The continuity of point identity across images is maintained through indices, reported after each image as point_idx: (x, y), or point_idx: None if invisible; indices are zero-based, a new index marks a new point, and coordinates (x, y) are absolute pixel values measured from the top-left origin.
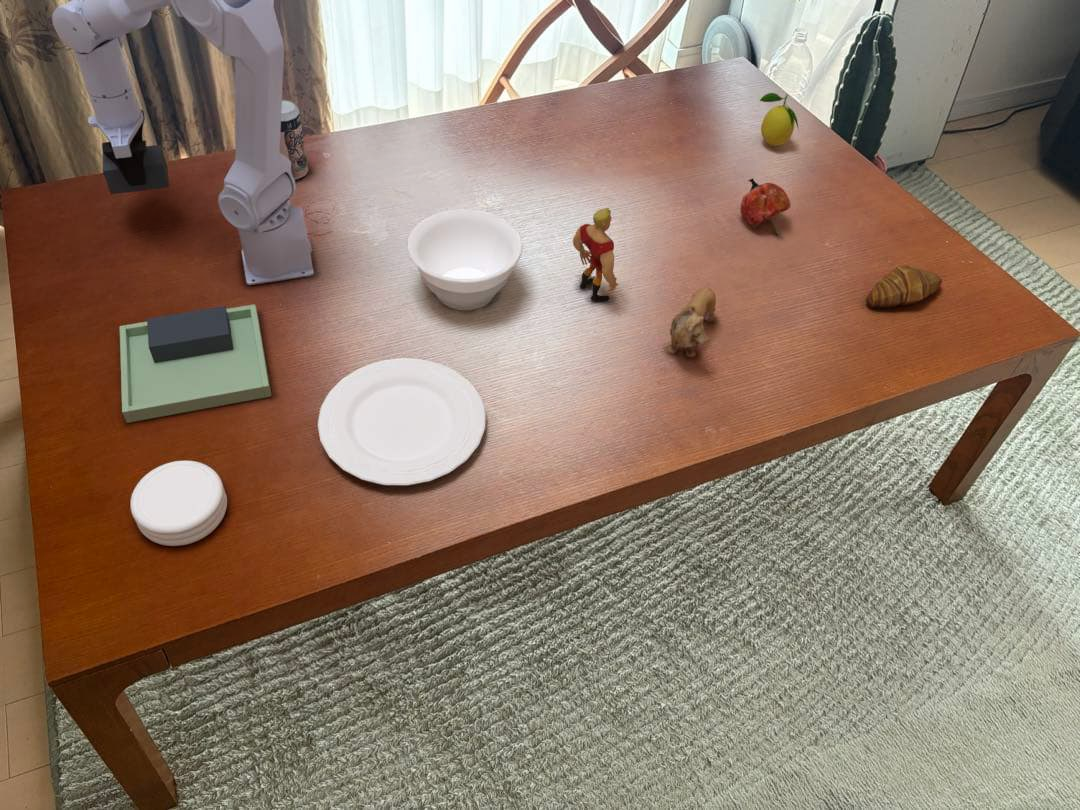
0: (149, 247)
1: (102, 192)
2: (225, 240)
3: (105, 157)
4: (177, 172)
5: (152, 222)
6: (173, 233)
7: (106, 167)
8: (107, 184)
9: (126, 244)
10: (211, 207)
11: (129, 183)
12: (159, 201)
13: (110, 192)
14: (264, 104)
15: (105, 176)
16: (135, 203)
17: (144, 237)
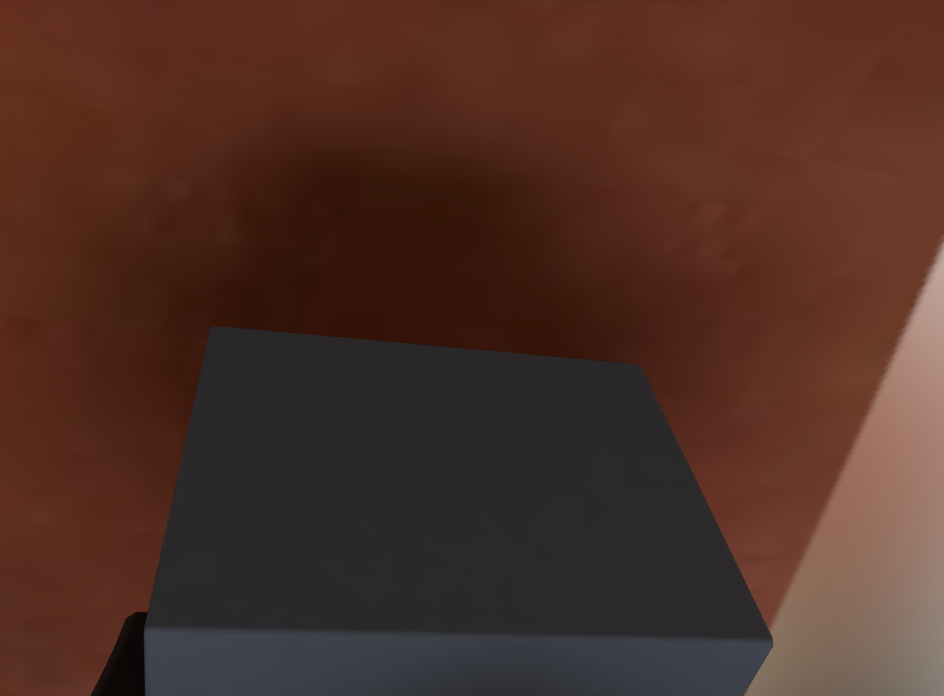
0: (14, 248)
1: (894, 28)
2: (18, 623)
3: (573, 670)
4: (792, 493)
5: (333, 308)
6: (159, 407)
7: (256, 675)
8: (192, 426)
9: (90, 91)
10: None
11: (114, 649)
12: None
13: (206, 345)
14: None
15: (166, 545)
16: (613, 238)
17: (158, 234)
